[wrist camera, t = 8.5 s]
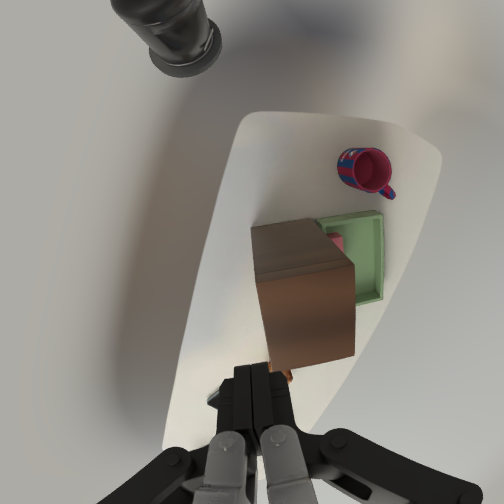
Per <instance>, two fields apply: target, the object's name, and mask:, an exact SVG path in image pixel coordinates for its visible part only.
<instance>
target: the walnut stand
mask: <svg viewBox="0 0 504 504" xmlns="http://www.w3.org/2000/svg"><path fill="white" fill-rule="evenodd" d="M251 239H252V250H253V260H254V271H255V282H256V288H257V293H258V299H259V304H260V309H261V314H262V320H263V325H264V330H265V336H266V341H267V346H268V351H269V357H270V362H271V367H272V372H276V371H285V370H291V369H296V368H301V367H307V366H311V365H316V364H321V363H326V362H330V361H334V360H339V359H343V358H347V357H351V356H354V354H355V320H356V291H355V264H354V263H353V262H352V261H351V260H350V259H349V258H348V257H347V256H346V255H345V254H344V253H343V252H342V251H341V250H340V249H339V247H338V246H337V245H336V244H335V243H334V242H333V241H332V240H331V239H330V238H329V237H328V236H327V235H326V234H325V233H324V232H323V231H322V230H321V229H320V228H319V227H318V226H317V225H316V224H315V223H314V222H313V221H312V220H311V219H310V218H306V219H300V220H294V221H288V222H282V223H276V224H270V225H264V226H258V227H253V228H251Z"/></svg>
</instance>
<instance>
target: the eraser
mask: <svg viewBox="0 0 504 504" xmlns="http://www.w3.org/2000/svg"><path fill="white" fill-rule="evenodd" d="M326 235H327V236H328V237H329V238H330V239H331V240H332V241H333V242H334V243H335V244H336V245H337V246H338V247H339V249H340V250H341V251H342V252H343V253H344V249H343V237H342V236H341V235H340V234H339V233H338V232H334V233H328V234H326Z"/></svg>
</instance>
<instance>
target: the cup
mask: <svg viewBox="0 0 504 504" xmlns="http://www.w3.org/2000/svg"><path fill="white" fill-rule="evenodd" d="M337 169H338V174H339V176H340V178H341V180H342V181H343V182H344V183H345V184H347V185H349V186H351V187H354V188H357V189H360V190H363V191H366V192H369V193H375V192H379V193H380V194H381V195H383V196H384V197H386V198H387V199H390V200H393V199H394V198H395V196H396V194H395V192H394V191H393V189H392V188H391V187H390V186H389V185H388V183H389V181H390V178H391V173H392V170H391V164H390V161H389V159H388V157H387V156H386V155H385V154H384V153H383V152H382V151H380V150H379V149H376V148H350V149H348V150H346V151H344V152H343V153H342V155H341V156H340V158H339V160H338V165H337Z"/></svg>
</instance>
